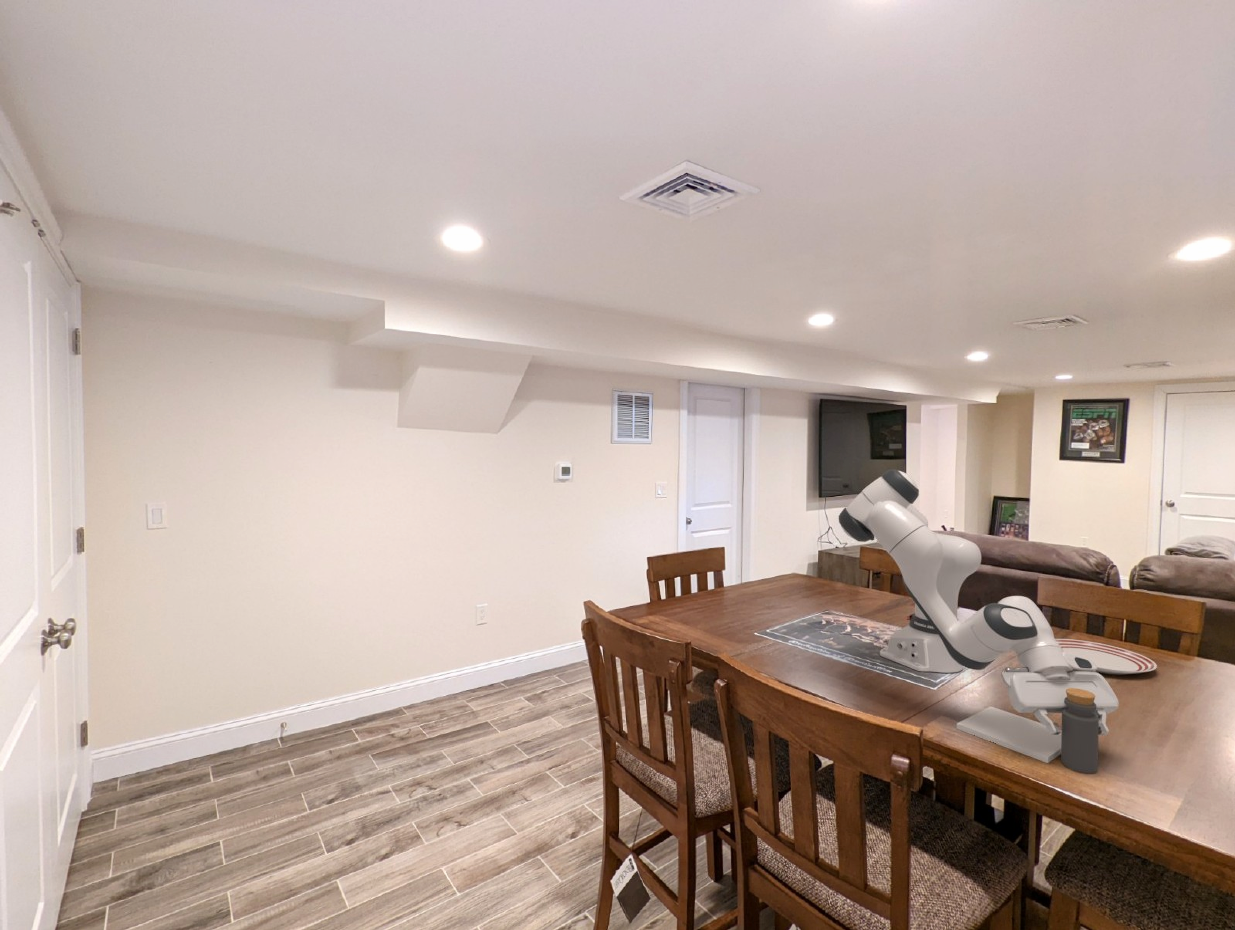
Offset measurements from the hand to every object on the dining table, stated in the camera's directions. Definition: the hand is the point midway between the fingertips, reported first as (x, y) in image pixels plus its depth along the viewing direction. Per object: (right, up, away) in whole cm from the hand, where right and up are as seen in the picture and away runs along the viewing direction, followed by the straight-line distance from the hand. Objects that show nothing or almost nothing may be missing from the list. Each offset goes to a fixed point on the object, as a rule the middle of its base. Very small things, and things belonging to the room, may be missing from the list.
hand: (1079, 733), depth 119 cm
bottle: (0, -7, +1) cm, 7 cm away
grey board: (-4, -6, +14) cm, 15 cm away
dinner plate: (+49, -5, +57) cm, 75 cm away
